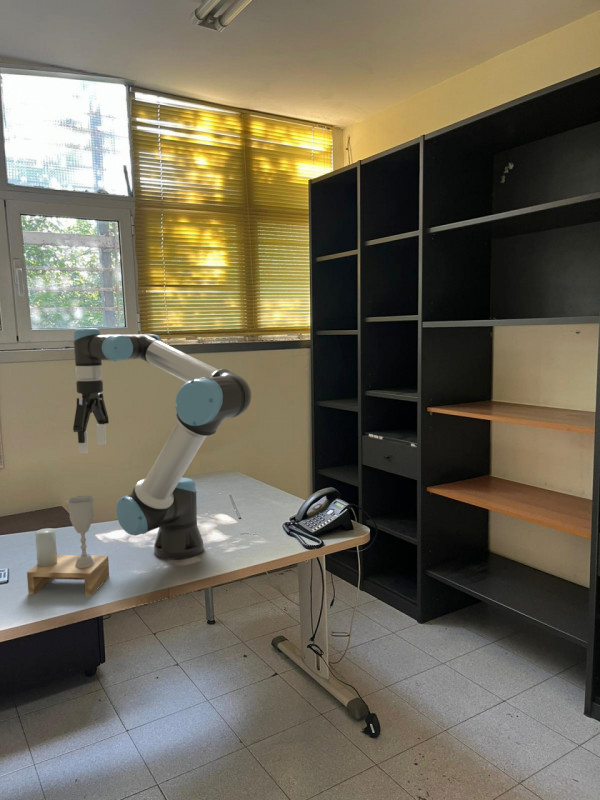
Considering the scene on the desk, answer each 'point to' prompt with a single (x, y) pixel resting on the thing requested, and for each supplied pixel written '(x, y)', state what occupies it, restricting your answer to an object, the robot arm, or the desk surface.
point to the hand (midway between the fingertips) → (93, 449)
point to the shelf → (70, 573)
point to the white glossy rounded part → (46, 547)
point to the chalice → (82, 524)
